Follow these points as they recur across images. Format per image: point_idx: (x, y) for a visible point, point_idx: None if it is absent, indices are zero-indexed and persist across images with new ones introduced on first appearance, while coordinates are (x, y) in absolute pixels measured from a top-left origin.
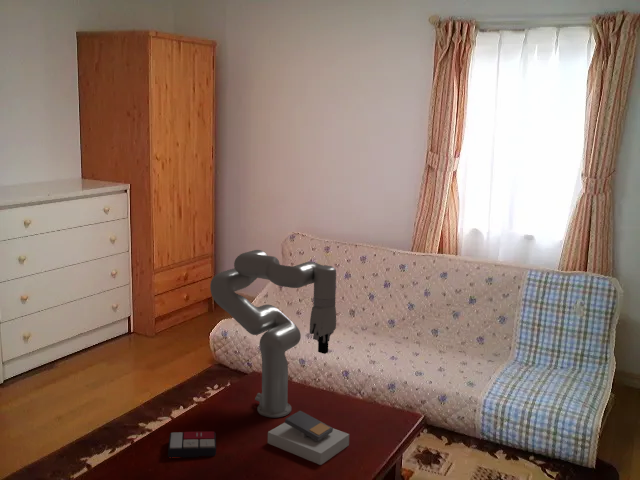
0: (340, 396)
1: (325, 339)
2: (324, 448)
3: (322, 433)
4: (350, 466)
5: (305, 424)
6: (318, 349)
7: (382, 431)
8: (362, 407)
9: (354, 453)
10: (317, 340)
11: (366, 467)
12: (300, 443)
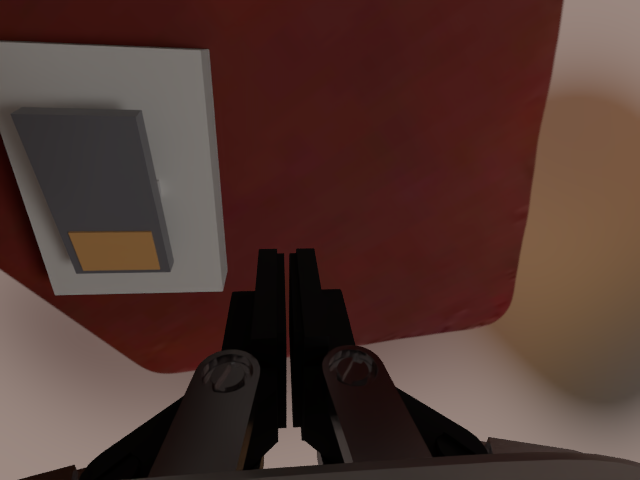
0: (544, 39)
1: (313, 442)
2: (87, 285)
3: (106, 269)
4: (139, 327)
5: (80, 200)
6: (259, 266)
7: (361, 294)
8: (484, 168)
9: (201, 302)
10: (195, 378)
11: (168, 353)
12: (37, 210)
